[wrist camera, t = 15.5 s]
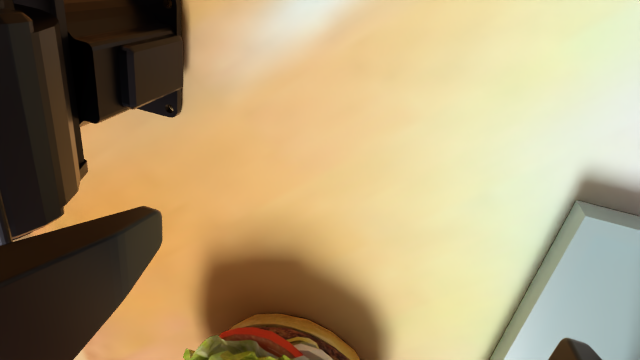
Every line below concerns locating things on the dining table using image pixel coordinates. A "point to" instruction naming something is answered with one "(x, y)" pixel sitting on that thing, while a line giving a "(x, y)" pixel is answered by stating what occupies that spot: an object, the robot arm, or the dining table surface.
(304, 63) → the dining table surface
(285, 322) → the food
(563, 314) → the tray
